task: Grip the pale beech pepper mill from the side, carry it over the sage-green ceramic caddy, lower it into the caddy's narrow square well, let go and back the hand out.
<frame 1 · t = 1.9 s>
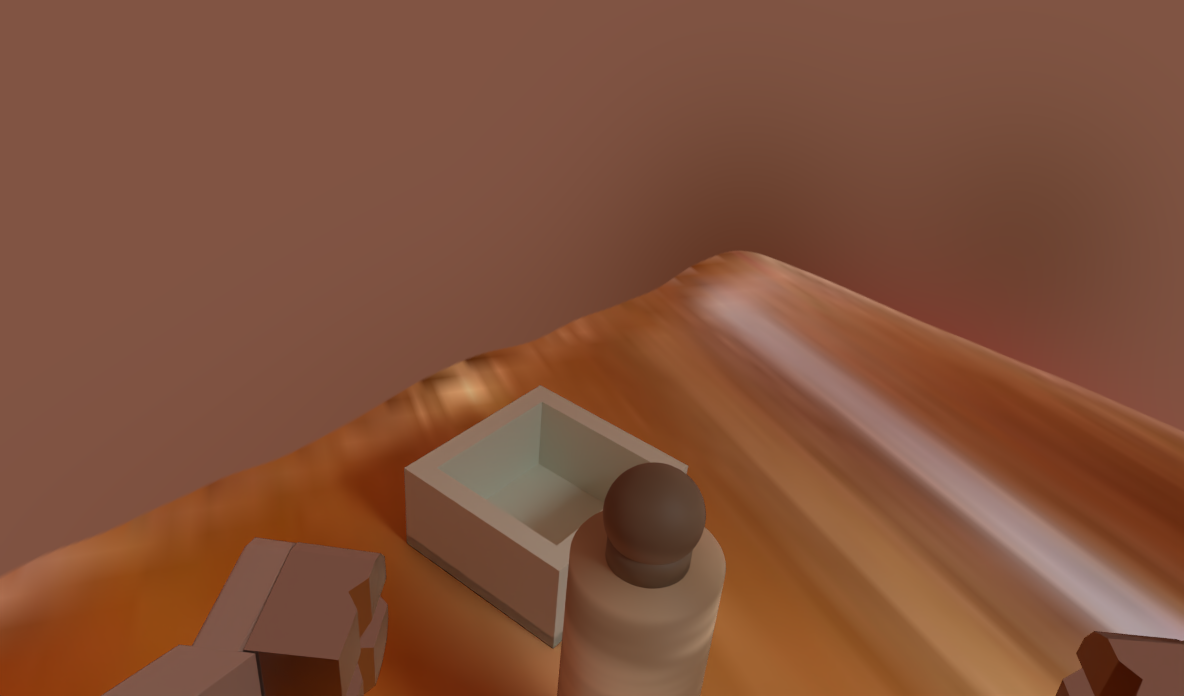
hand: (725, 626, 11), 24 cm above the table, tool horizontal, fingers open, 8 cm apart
caddy: (543, 540, 46), on the table
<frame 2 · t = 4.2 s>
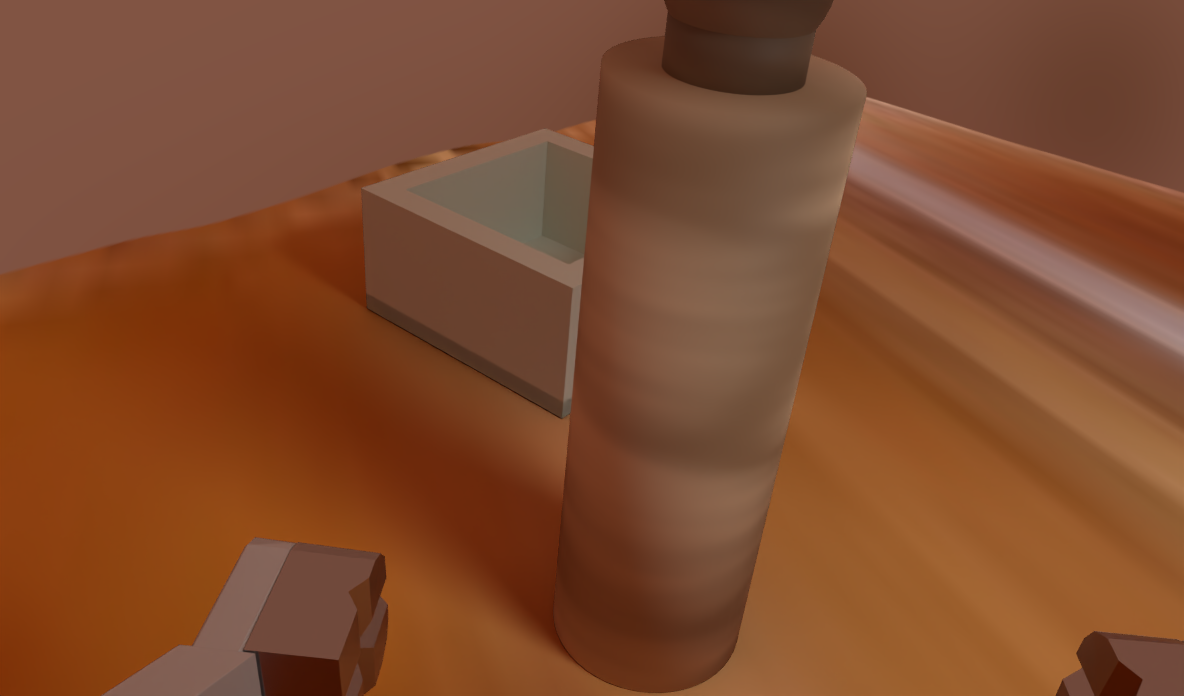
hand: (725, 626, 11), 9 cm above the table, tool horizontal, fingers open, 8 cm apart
pepper mill: (645, 615, 23), on the table
caddy: (548, 311, 35), on the table
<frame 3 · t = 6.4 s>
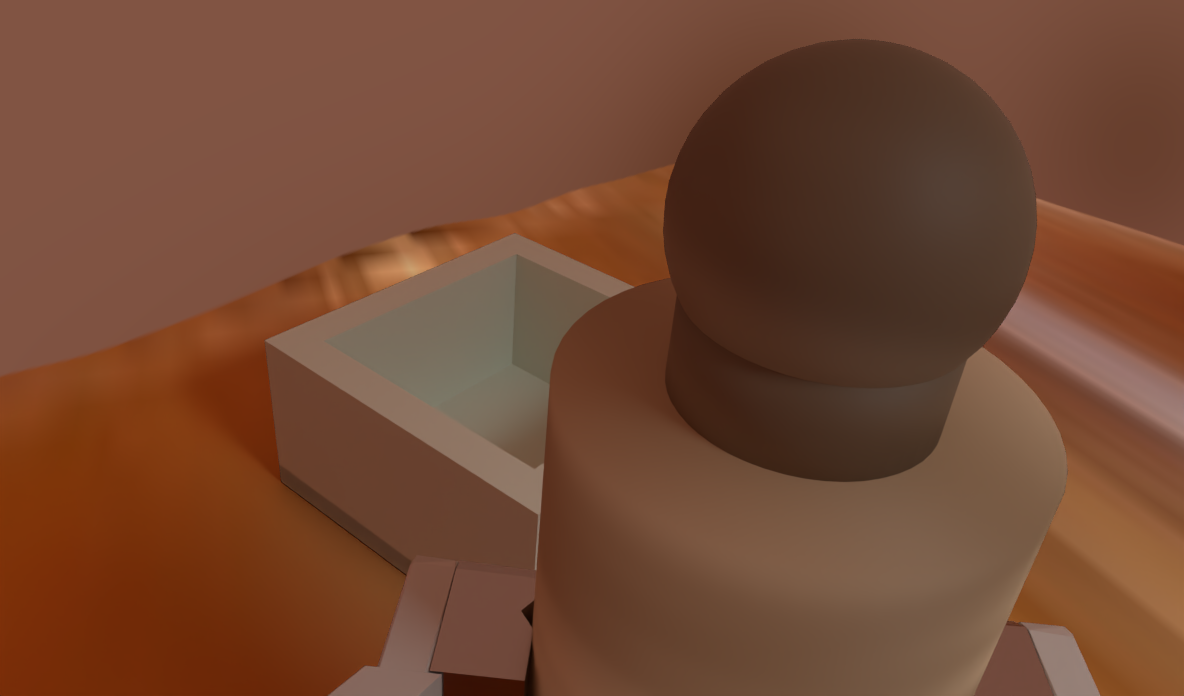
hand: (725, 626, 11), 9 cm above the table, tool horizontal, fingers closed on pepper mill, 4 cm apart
caddy: (517, 480, 27), on the table
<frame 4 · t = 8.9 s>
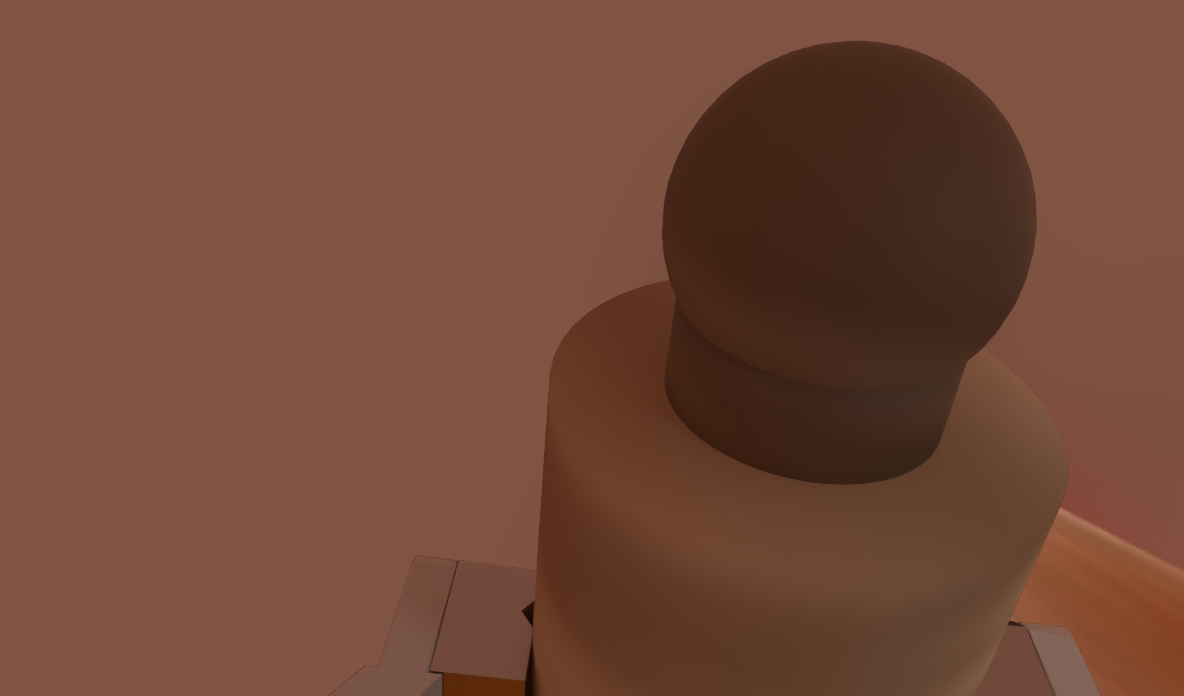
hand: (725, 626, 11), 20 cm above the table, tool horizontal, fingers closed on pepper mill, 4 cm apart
when the fingers open (11 cm above the table, at t = 11.6 s): pepper mill drops 1 cm, resting on caddy.
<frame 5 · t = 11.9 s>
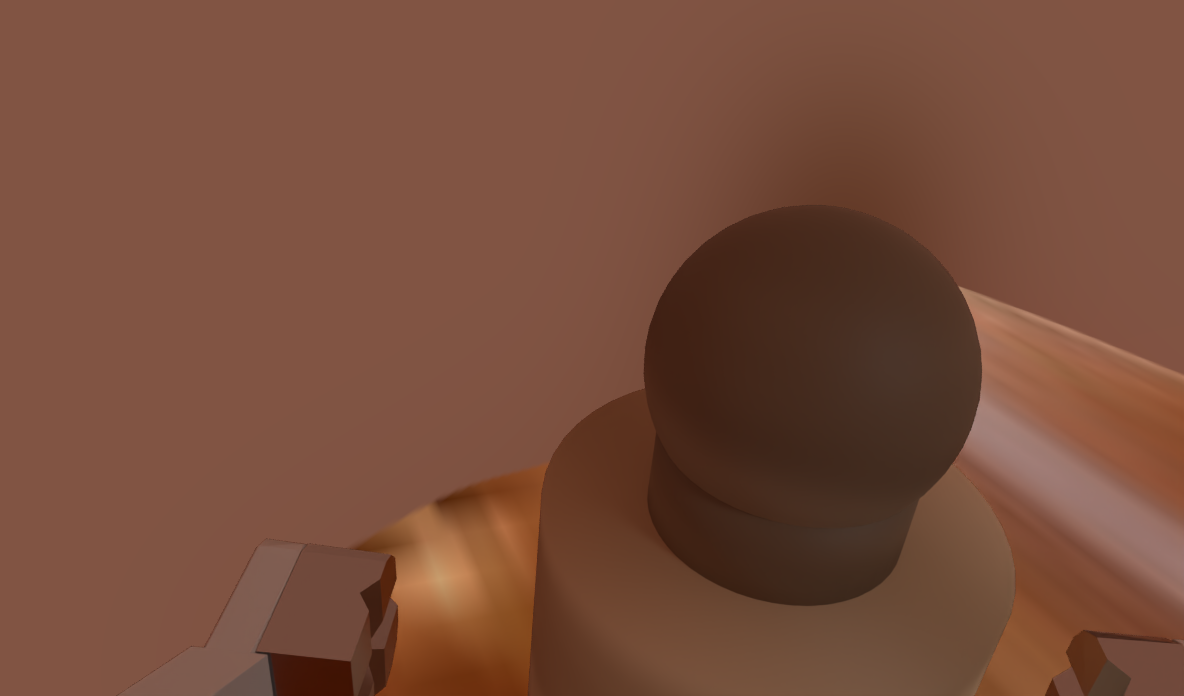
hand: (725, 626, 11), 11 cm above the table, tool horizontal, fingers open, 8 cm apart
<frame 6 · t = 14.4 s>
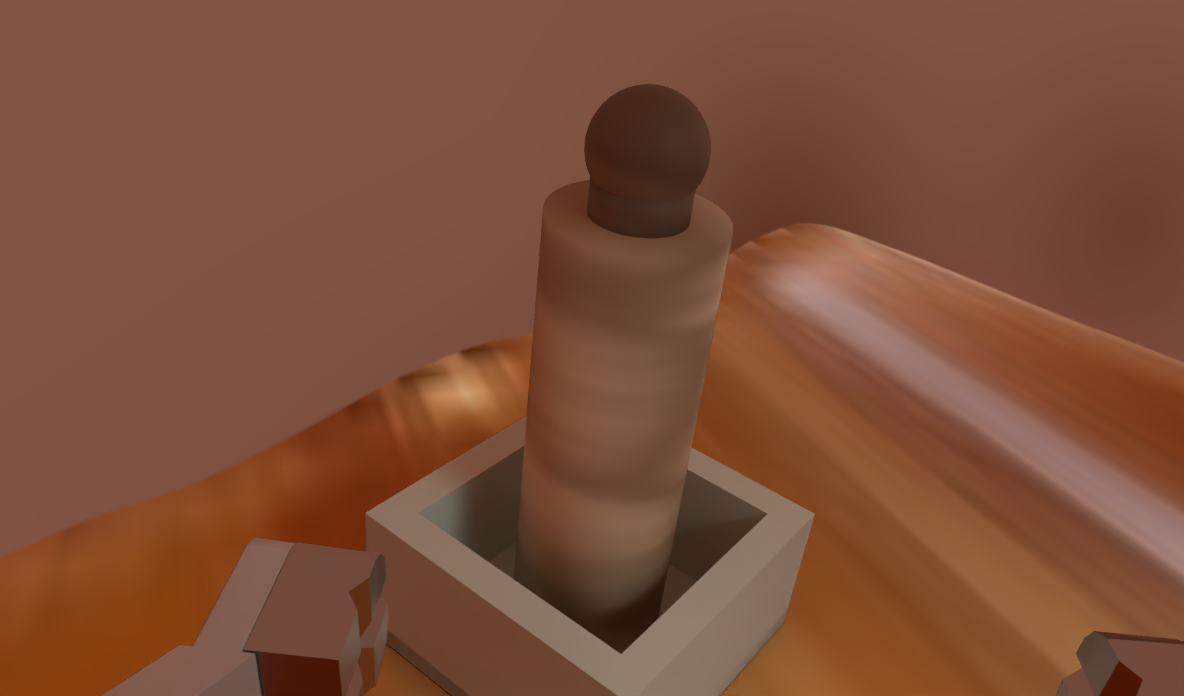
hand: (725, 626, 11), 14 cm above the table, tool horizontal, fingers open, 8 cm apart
pepper mill: (584, 612, 29), point 1 cm above the table, touching caddy
caddy: (582, 625, 30), on the table
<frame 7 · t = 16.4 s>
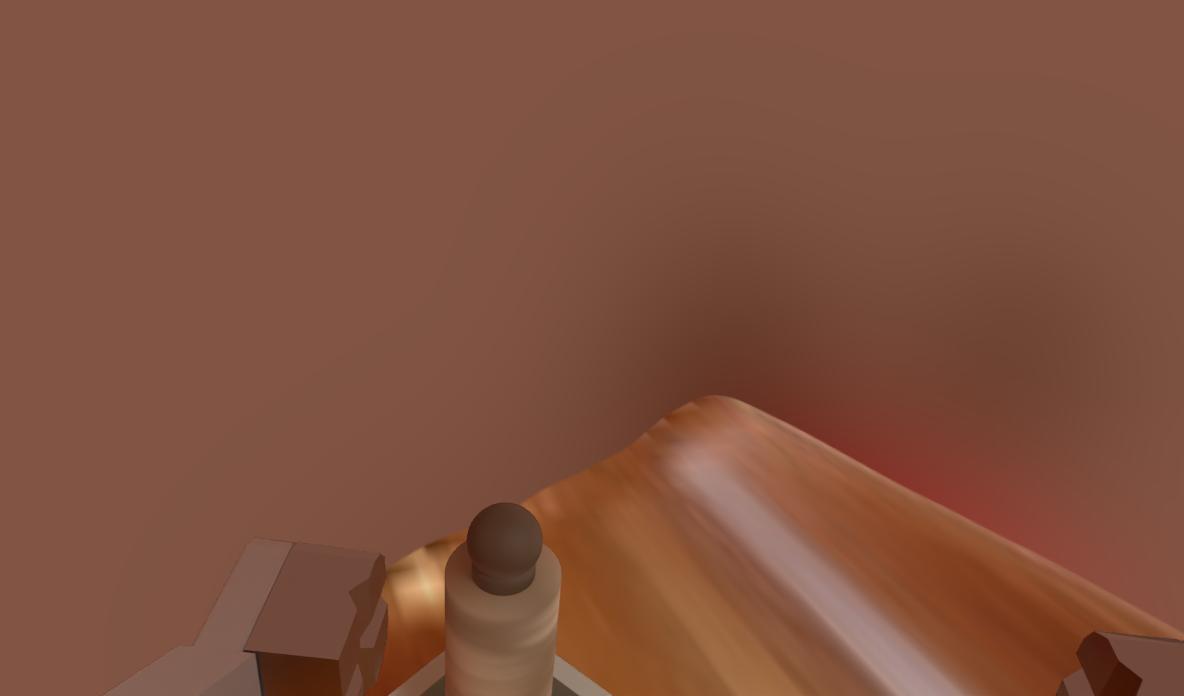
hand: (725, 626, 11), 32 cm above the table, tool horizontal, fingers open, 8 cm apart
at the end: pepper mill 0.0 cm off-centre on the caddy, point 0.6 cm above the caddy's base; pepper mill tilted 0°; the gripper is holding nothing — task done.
